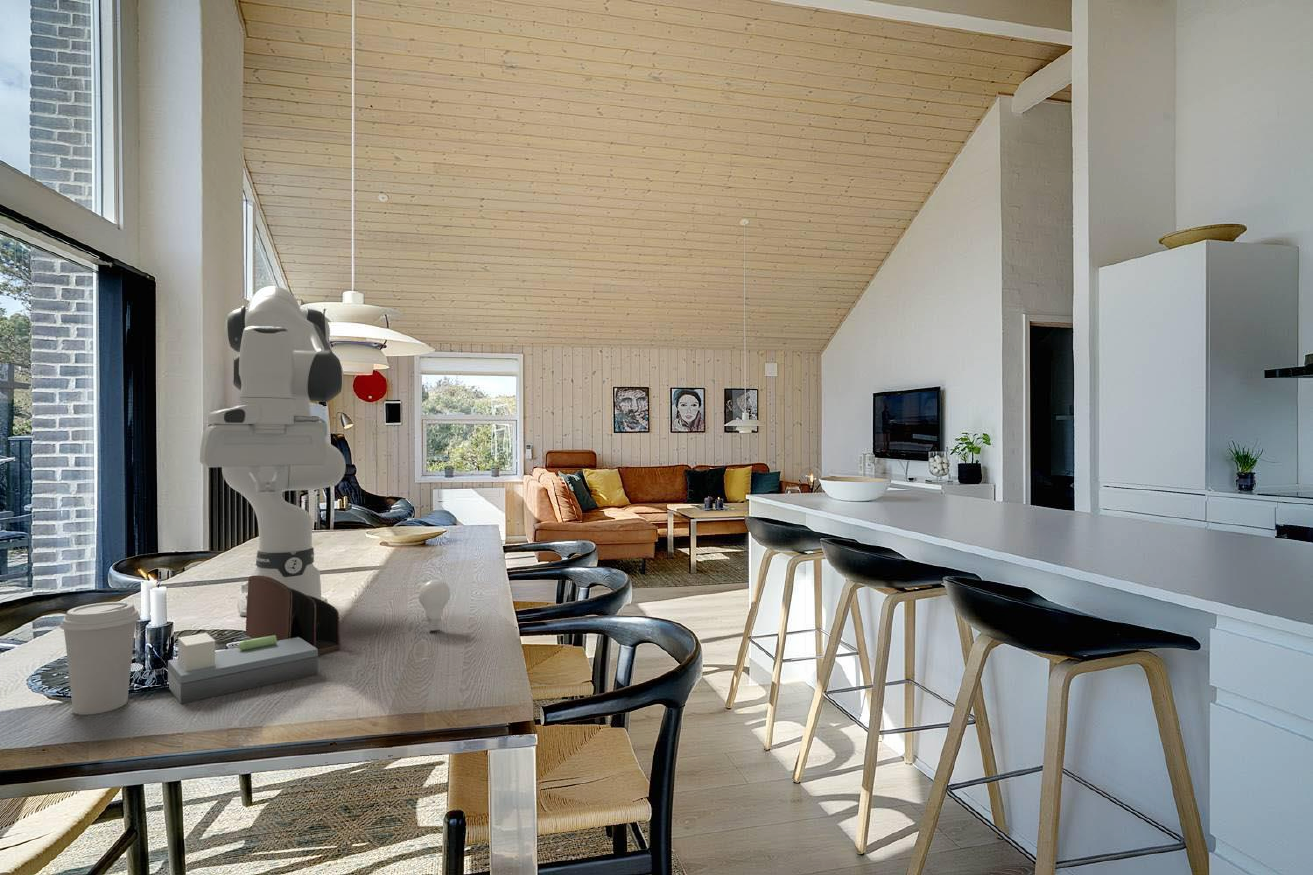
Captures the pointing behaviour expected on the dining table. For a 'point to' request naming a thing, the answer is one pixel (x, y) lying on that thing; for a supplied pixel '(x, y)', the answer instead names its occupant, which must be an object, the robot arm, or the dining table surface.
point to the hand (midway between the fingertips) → (266, 491)
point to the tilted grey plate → (233, 656)
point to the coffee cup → (99, 655)
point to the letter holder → (290, 615)
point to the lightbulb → (434, 601)
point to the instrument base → (241, 680)
